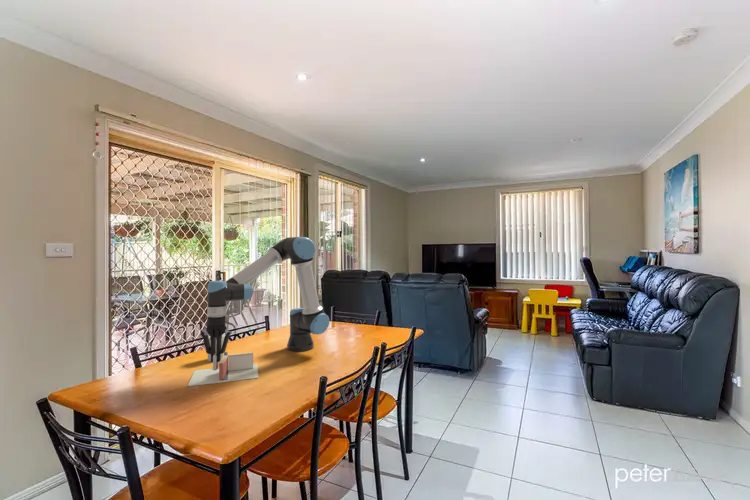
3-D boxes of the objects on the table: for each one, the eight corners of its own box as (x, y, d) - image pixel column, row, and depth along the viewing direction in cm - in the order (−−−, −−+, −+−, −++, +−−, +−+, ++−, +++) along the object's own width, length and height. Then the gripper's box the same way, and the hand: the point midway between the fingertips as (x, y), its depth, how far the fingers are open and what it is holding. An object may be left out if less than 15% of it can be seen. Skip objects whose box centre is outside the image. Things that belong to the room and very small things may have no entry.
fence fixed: (253, 367, 169) (253, 349, 169) (253, 369, 167) (253, 350, 167) (224, 371, 164) (224, 352, 164) (224, 372, 163) (224, 353, 163)
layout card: (257, 364, 174) (257, 363, 174) (258, 378, 155) (258, 377, 155) (194, 371, 165) (194, 370, 165) (187, 386, 146) (187, 385, 146)
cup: (220, 361, 178) (220, 338, 178) (204, 361, 179) (204, 338, 179) (227, 356, 187) (227, 334, 186) (212, 356, 187) (212, 334, 187)
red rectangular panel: (223, 371, 162) (223, 355, 162) (227, 371, 163) (227, 355, 163) (218, 379, 152) (218, 362, 152) (223, 379, 152) (223, 362, 152)
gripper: (197, 317, 151) (196, 372, 151) (228, 317, 151) (227, 372, 151) (205, 314, 158) (204, 366, 158) (234, 314, 159) (233, 366, 159)
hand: (215, 369), depth 155 cm, fingers closed
